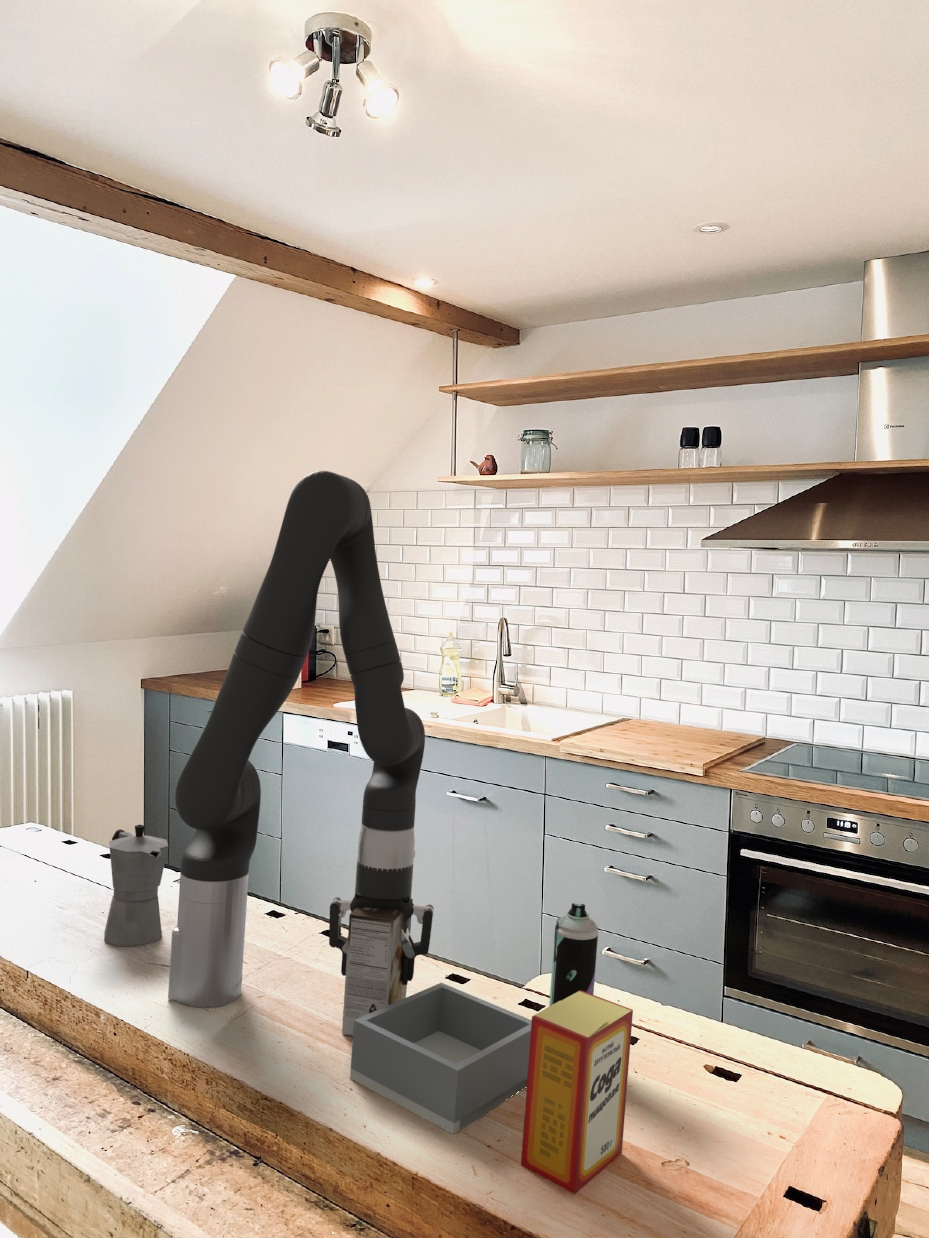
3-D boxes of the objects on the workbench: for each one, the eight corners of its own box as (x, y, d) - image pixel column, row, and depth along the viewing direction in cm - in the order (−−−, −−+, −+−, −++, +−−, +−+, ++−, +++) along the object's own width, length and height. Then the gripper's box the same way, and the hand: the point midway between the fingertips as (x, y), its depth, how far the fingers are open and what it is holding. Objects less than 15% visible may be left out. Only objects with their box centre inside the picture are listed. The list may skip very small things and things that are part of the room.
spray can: (560, 1072, 117) (572, 913, 117) (537, 1051, 122) (548, 898, 121) (596, 1064, 120) (608, 909, 119) (572, 1044, 125) (583, 895, 124)
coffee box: (361, 1005, 132) (369, 891, 131) (406, 1012, 130) (414, 897, 130) (340, 1034, 123) (348, 912, 122) (387, 1043, 122) (396, 919, 121)
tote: (349, 1077, 112) (353, 1019, 112) (437, 1034, 125) (441, 982, 125) (453, 1133, 102) (457, 1070, 102) (537, 1080, 115) (541, 1024, 114)
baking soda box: (569, 1128, 105) (580, 986, 105) (621, 1153, 101) (633, 1006, 100) (520, 1165, 98) (532, 1012, 97) (574, 1193, 94) (586, 1035, 93)
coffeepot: (180, 943, 149) (187, 830, 149) (122, 956, 143) (129, 838, 142) (137, 914, 160) (143, 809, 160) (81, 925, 154) (87, 815, 153)
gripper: (327, 862, 122) (318, 988, 123) (437, 870, 122) (429, 996, 123) (336, 846, 130) (328, 965, 130) (440, 854, 130) (432, 973, 130)
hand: (377, 980), depth 126 cm, fingers closed on coffee box, 7 cm apart
